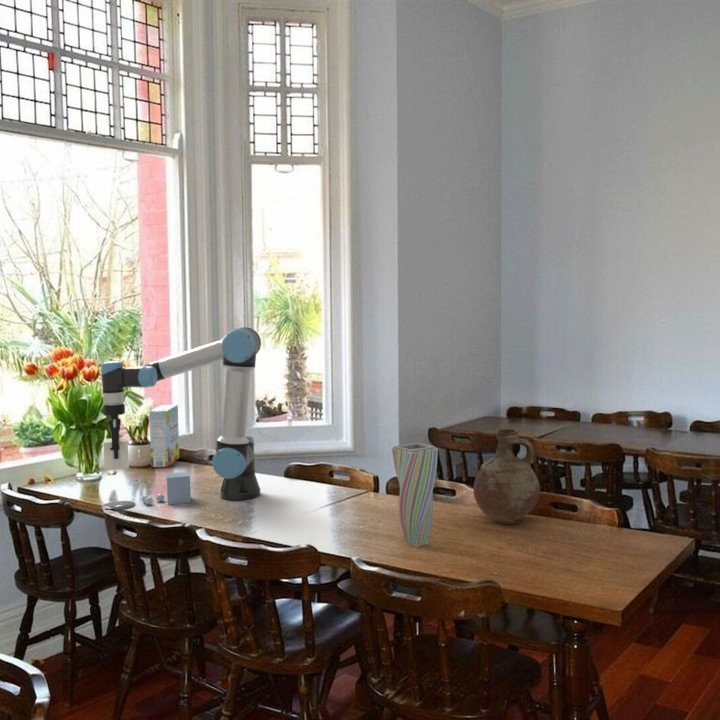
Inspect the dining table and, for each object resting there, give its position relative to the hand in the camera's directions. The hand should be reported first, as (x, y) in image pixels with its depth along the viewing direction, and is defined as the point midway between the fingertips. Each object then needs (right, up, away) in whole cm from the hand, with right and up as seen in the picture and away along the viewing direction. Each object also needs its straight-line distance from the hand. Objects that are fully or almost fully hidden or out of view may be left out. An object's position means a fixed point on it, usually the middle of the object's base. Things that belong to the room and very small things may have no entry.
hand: (117, 464), depth 316 cm
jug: (+138, -15, -32) cm, 142 cm away
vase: (+107, -18, -55) cm, 121 cm away
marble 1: (+9, -15, +5) cm, 18 cm away
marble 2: (+11, -15, +2) cm, 19 cm away
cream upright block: (0, -1, 0) cm, 1 cm away
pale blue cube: (+21, -14, +7) cm, 27 cm away
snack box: (0, -9, +78) cm, 78 cm away
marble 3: (+13, -13, +6) cm, 19 cm away
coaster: (+1, -15, +1) cm, 16 cm away
